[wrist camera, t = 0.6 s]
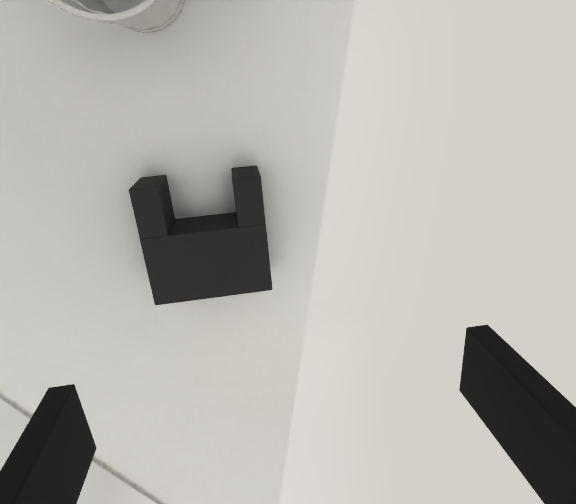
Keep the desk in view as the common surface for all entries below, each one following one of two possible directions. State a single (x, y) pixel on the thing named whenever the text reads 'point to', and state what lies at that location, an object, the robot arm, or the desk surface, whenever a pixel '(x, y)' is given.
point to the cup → (126, 12)
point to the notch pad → (203, 242)
